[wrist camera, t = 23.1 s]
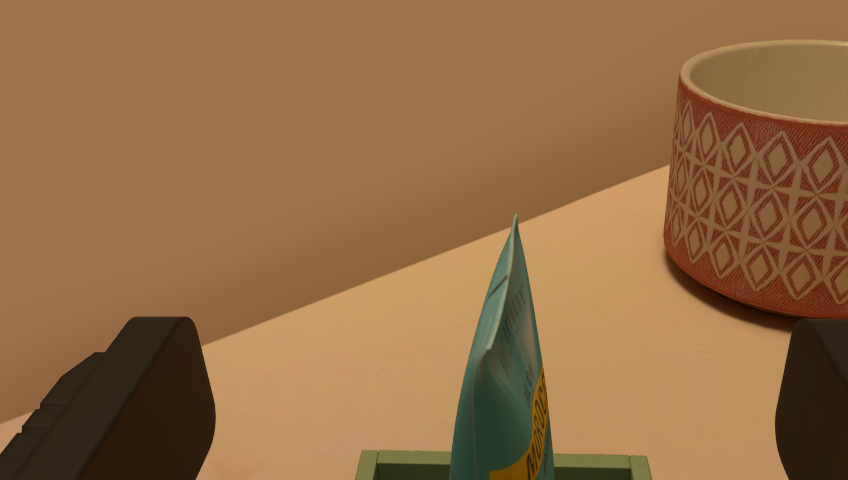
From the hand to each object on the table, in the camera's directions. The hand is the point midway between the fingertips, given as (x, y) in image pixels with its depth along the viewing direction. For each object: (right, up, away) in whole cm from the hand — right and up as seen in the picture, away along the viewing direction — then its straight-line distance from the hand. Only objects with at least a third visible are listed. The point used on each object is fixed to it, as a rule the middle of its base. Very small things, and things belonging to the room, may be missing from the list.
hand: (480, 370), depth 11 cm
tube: (+3, -16, +21) cm, 27 cm away
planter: (+27, 0, +49) cm, 56 cm away
